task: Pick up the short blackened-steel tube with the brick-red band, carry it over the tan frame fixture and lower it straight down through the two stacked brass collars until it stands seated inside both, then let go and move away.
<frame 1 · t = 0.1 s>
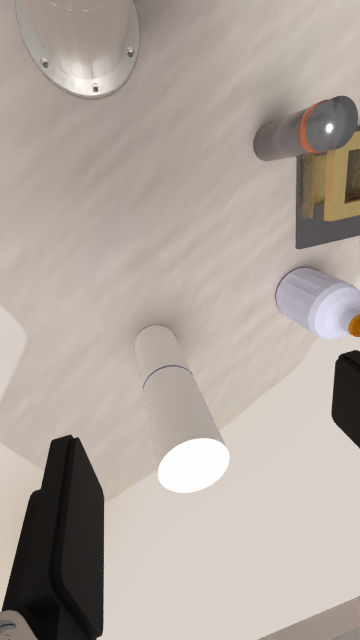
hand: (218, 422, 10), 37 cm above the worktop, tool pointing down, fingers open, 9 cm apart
tube: (268, 143, 41), on the worktop
tan frame fixture: (334, 175, 46), on the worktop
soap bottle: (297, 291, 53), on the worktop
cylindrical container: (155, 343, 51), on the worktop
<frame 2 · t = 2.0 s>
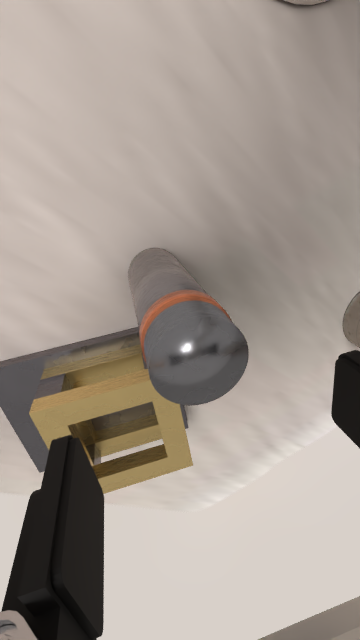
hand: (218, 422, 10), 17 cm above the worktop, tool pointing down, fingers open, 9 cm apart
tube: (154, 274, 25), on the worktop
tan frame fixture: (118, 391, 29), on the worktop
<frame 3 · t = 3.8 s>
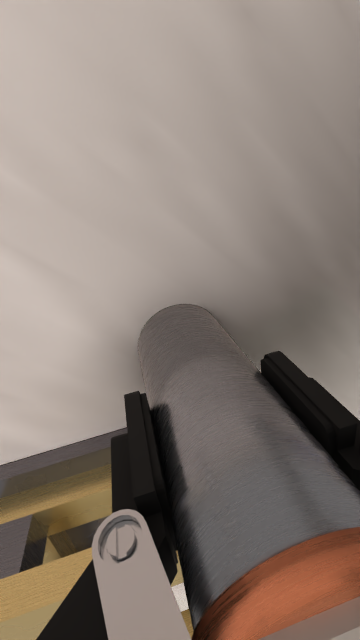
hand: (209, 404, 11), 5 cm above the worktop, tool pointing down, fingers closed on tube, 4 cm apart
tube: (180, 344, 15), on the worktop, touching gripper
tan frame fixture: (121, 507, 19), on the worktop
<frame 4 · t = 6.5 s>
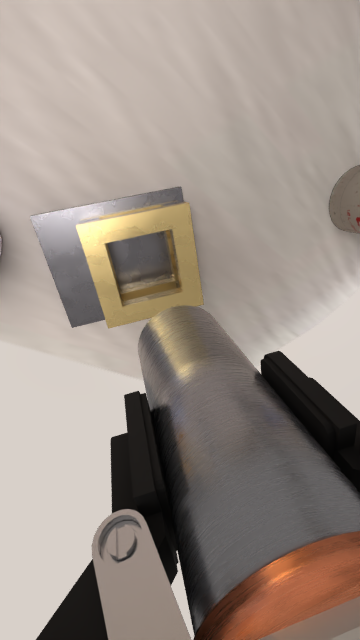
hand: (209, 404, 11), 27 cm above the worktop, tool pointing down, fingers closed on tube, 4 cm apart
tube: (180, 345, 15), point 22 cm above the worktop, touching gripper
tan frame fixture: (139, 255, 35), on the worktop
thermos bottle: (355, 199, 38), on the worktop
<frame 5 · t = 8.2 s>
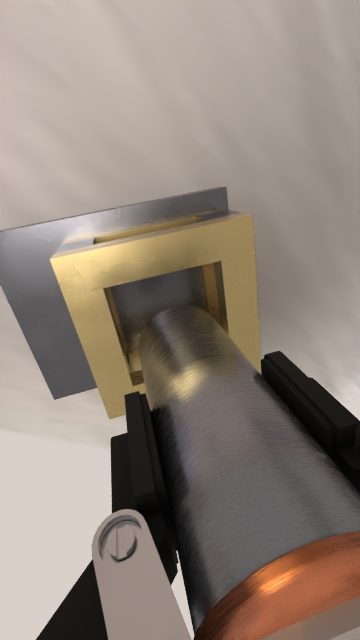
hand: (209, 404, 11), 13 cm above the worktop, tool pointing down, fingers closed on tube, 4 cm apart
tube: (180, 345, 15), point 8 cm above the worktop, touching gripper
tan frame fixture: (157, 291, 23), on the worktop
when the fingers open (8 cm above the worktop, at t = 9.6 s): tube drops 2 cm, resting on tan frame fixture.
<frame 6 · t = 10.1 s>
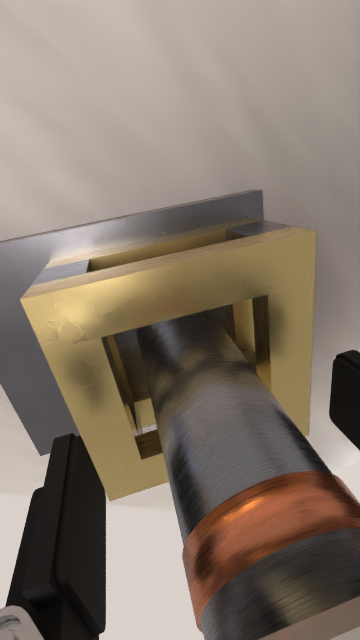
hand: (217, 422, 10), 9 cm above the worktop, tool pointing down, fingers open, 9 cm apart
tube: (175, 328, 17), point 1 cm above the worktop, touching tan frame fixture
tan frame fixture: (169, 321, 18), on the worktop
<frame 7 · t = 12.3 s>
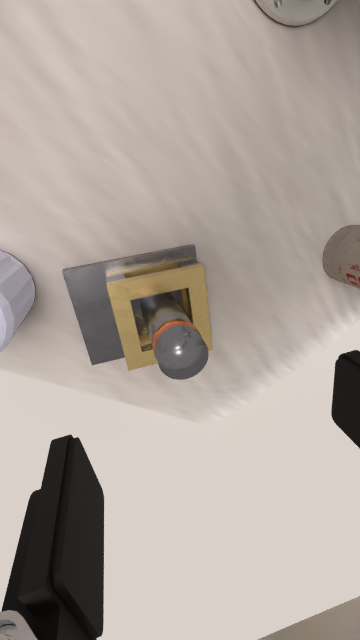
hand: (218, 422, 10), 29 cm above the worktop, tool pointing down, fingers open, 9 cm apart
tube: (157, 304, 38), point 1 cm above the worktop, touching tan frame fixture
tan frame fixture: (155, 301, 39), on the worktop
thermos bottle: (345, 253, 43), on the worktop
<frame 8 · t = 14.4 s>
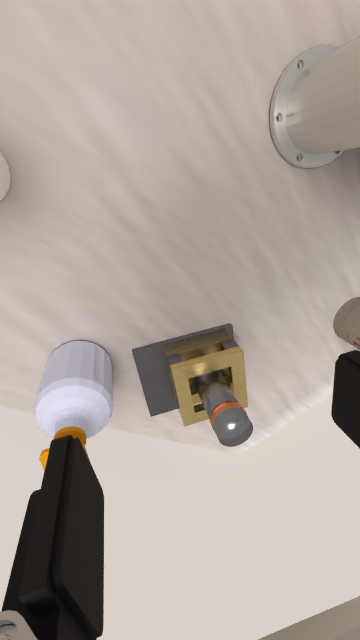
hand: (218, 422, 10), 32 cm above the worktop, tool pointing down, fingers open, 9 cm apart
tube: (202, 369, 48), point 1 cm above the worktop, touching tan frame fixture
tan frame fixture: (199, 366, 49), on the worktop
soap bottle: (80, 365, 44), on the worktop
thermos bottle: (352, 317, 53), on the worktop
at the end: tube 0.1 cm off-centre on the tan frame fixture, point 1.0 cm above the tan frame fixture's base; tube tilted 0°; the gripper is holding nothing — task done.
